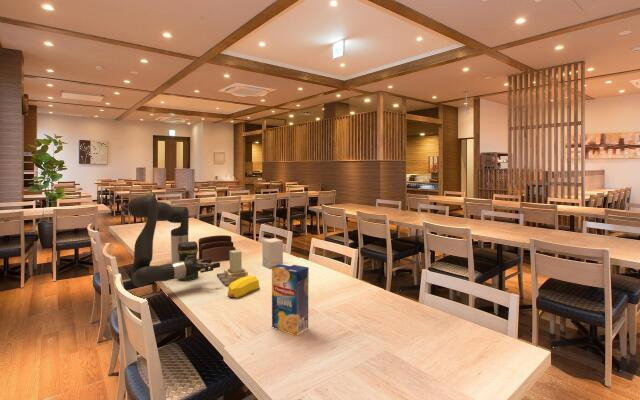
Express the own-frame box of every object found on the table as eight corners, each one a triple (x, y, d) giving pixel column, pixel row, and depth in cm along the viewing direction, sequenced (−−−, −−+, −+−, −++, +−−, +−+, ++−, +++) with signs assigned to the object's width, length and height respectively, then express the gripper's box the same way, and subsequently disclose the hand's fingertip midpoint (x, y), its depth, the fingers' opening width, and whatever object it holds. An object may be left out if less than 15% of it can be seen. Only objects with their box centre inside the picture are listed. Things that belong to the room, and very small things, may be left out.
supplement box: (283, 266, 202) (283, 240, 200) (269, 268, 197) (269, 242, 195) (276, 262, 209) (276, 237, 208) (262, 265, 204) (261, 239, 203)
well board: (216, 276, 183) (216, 268, 183) (241, 272, 189) (241, 264, 189) (225, 286, 167) (225, 278, 167) (252, 282, 174) (252, 274, 173)
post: (229, 276, 179) (229, 250, 178) (238, 274, 182) (238, 249, 181) (232, 278, 176) (232, 252, 174) (241, 277, 178) (241, 251, 177)
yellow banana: (223, 297, 154) (236, 301, 151) (223, 282, 154) (236, 285, 150) (250, 285, 170) (263, 288, 166) (250, 271, 169) (263, 274, 166)
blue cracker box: (284, 320, 132) (284, 262, 130) (308, 328, 126) (308, 267, 124) (271, 327, 126) (271, 266, 124) (296, 336, 120) (297, 272, 118)
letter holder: (198, 259, 214) (198, 236, 213) (231, 256, 224) (231, 234, 223) (202, 264, 206) (201, 239, 204) (235, 259, 215) (235, 236, 214)
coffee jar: (180, 282, 173) (178, 244, 171) (176, 277, 180) (175, 241, 178) (200, 278, 178) (199, 242, 177) (196, 274, 185) (195, 239, 183)
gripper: (188, 264, 154) (222, 257, 165) (175, 258, 164) (208, 252, 175) (188, 281, 154) (222, 273, 166) (175, 273, 165) (208, 267, 176)
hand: (215, 262), depth 170 cm, fingers open, 8 cm apart
